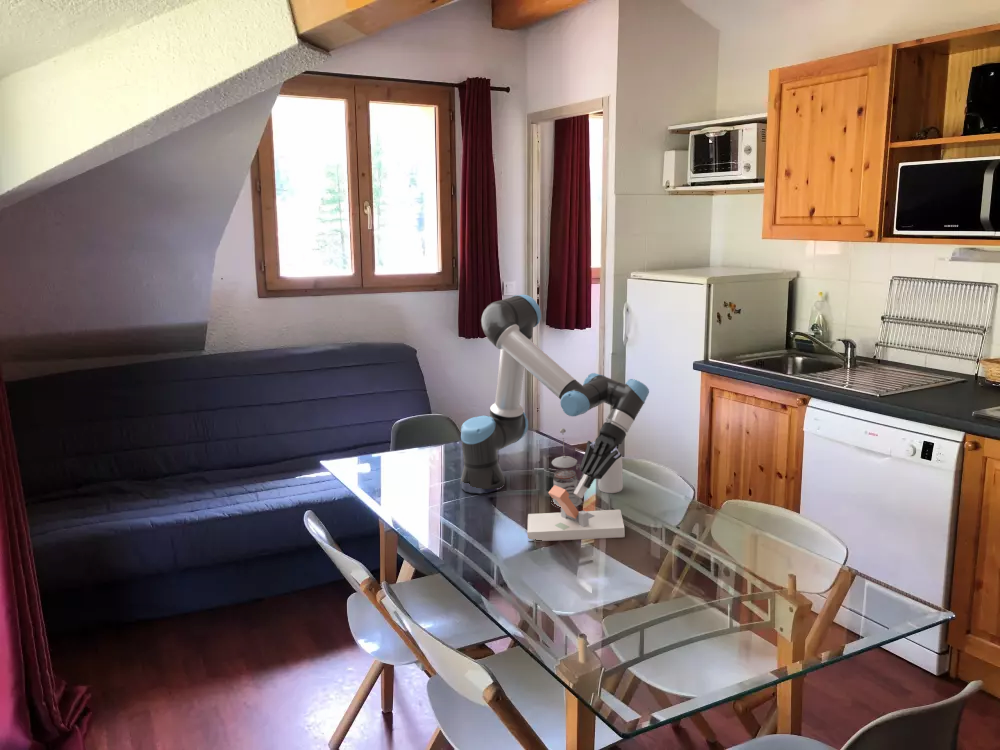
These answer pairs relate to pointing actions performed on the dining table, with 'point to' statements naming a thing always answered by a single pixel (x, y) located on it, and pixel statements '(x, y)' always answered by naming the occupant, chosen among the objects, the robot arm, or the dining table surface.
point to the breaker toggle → (564, 502)
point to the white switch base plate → (576, 525)
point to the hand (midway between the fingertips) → (577, 495)
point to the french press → (566, 476)
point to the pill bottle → (612, 478)
